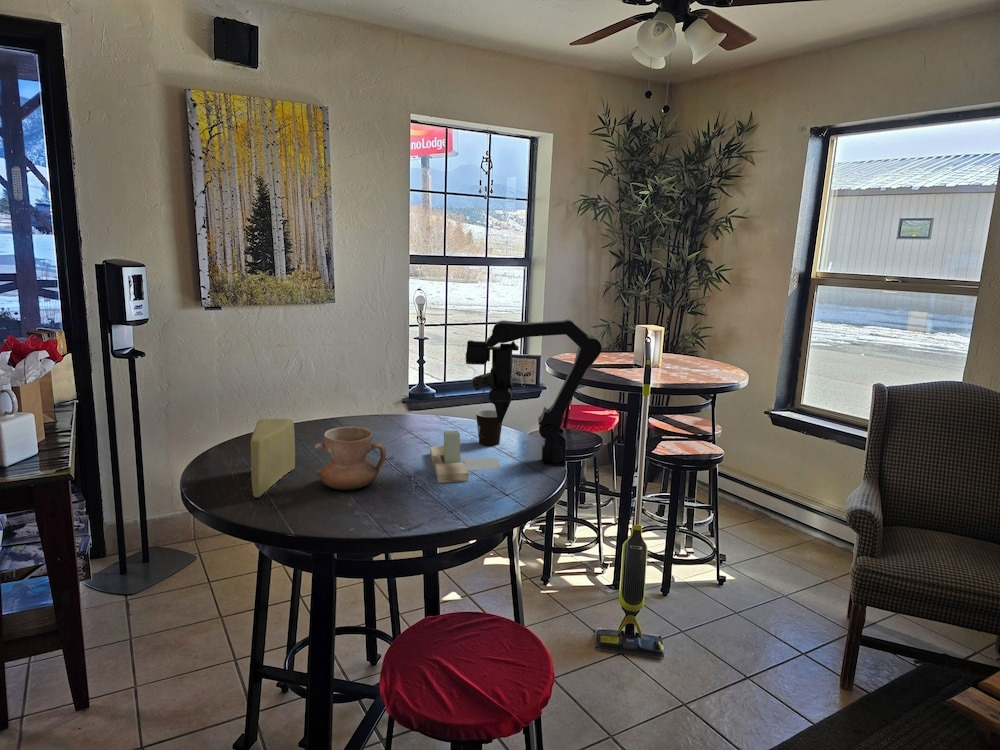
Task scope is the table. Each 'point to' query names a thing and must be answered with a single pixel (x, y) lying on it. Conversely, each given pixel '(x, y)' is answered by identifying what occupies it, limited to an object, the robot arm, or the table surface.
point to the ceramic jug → (349, 458)
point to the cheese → (271, 453)
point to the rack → (447, 467)
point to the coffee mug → (488, 428)
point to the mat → (482, 464)
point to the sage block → (451, 447)
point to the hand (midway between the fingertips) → (500, 417)
